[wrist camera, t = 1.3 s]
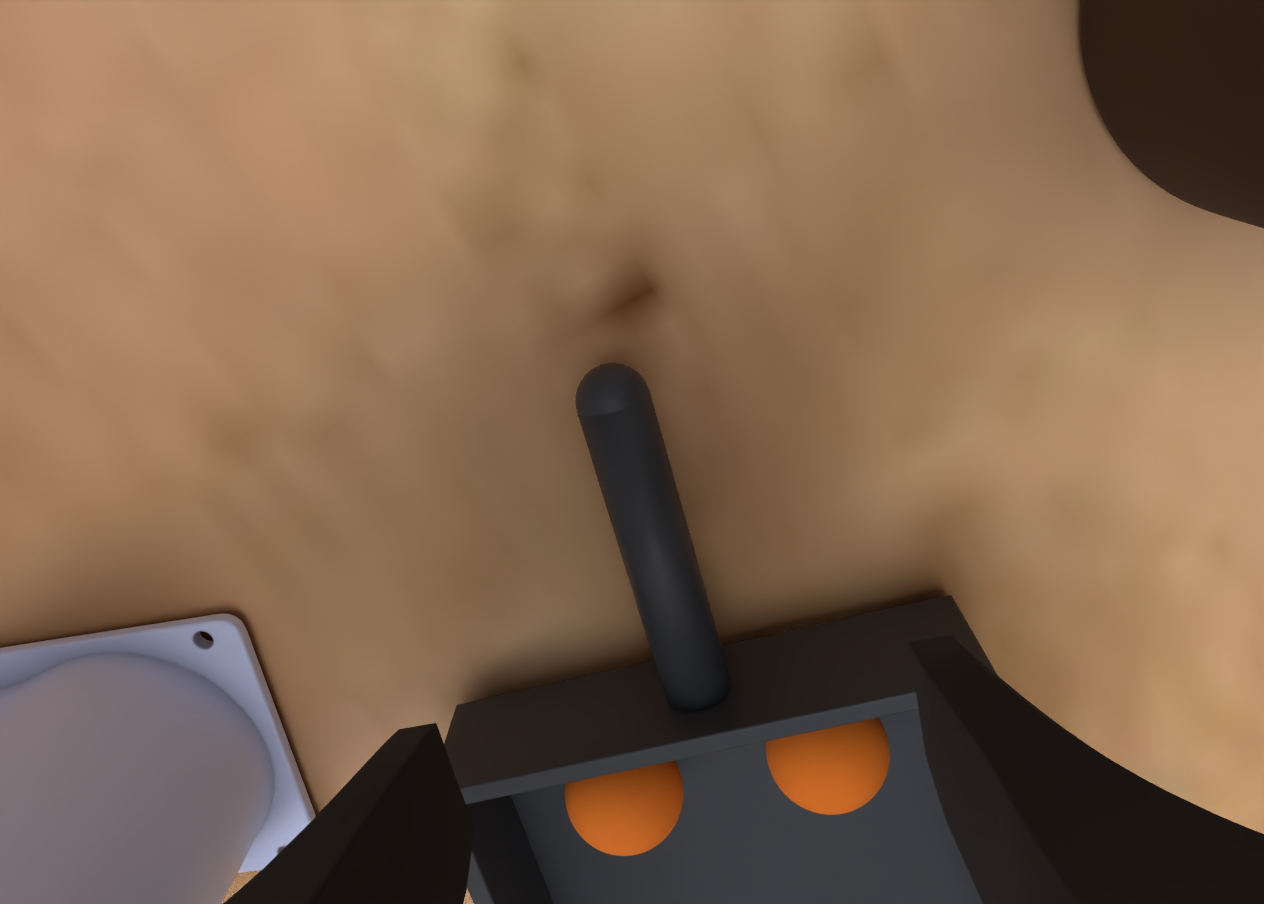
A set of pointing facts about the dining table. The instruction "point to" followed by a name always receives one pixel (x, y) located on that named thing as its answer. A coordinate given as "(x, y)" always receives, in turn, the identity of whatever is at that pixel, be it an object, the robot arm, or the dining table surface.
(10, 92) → the dining table surface
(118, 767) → the robot arm
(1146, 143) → the olive oil
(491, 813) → the scoop pan
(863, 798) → the ball
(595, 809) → the ball
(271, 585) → the dining table surface
